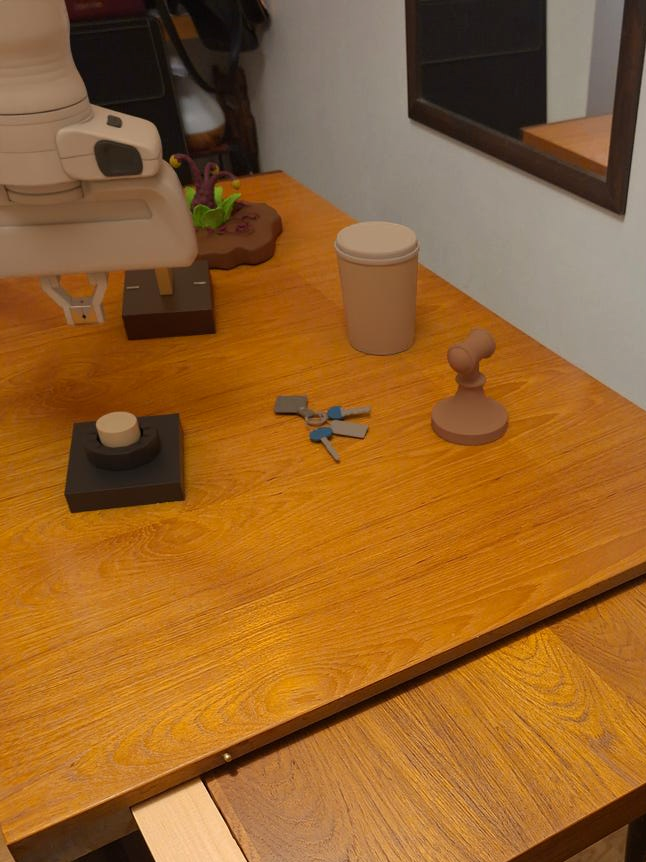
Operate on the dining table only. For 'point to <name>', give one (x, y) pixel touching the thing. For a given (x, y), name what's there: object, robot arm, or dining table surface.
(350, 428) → the key chain
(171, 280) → the lock knob
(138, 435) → the button
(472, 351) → the door knob
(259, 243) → the plant
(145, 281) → the plate
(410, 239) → the coffee cup
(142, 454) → the box
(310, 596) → the dining table surface
